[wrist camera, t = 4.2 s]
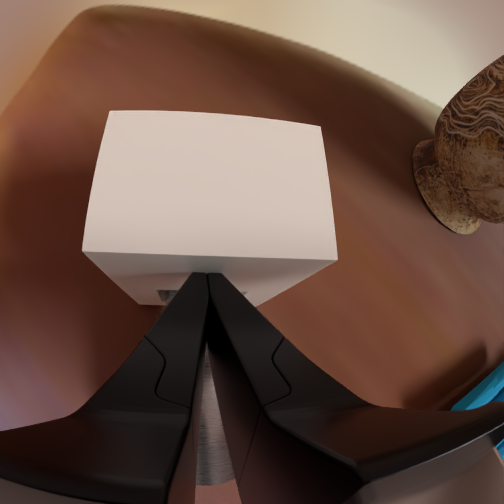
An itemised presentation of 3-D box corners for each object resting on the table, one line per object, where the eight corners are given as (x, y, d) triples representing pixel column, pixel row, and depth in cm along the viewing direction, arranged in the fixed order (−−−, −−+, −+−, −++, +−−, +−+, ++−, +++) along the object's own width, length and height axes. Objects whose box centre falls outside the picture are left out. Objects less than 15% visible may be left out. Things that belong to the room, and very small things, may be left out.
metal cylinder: (228, 447, 15) (245, 483, 10) (171, 448, 14) (167, 485, 10) (226, 166, 19) (239, 115, 15) (176, 163, 19) (176, 111, 14)
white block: (254, 307, 17) (337, 259, 8) (138, 304, 16) (81, 251, 7) (253, 233, 18) (320, 126, 9) (143, 229, 17) (110, 110, 8)
